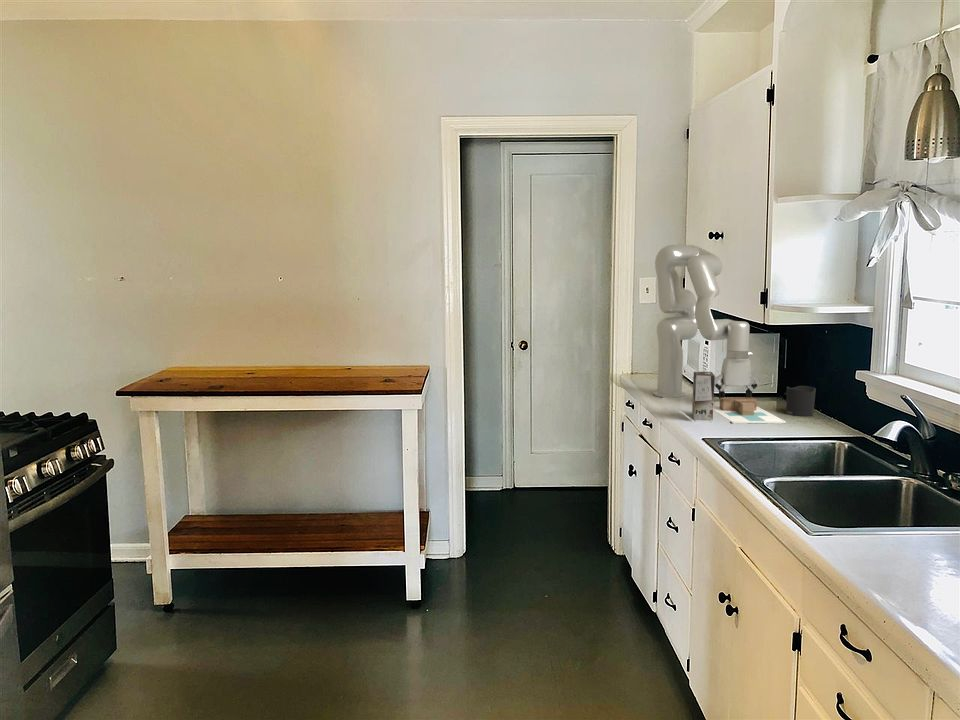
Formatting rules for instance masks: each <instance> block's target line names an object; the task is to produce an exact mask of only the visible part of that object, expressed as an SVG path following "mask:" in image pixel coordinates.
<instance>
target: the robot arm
mask: <svg viewBox="0 0 960 720" xmlns="http://www.w3.org/2000/svg"><path fill="white" fill-rule="evenodd" d="M654 265H655V266H654V267H655V271H656V272H655V273H656V278H657V279H656V280H657V291H658V292H657V294H658V295H657V296H658V305H659V309H660V311H661V312H662V313H664V314H677V316H669V317H665V318H663V319H661V320H660V321H659V322H658V324H657V326H656V335H657V342H658V362H657V363H658V364H657V388H656V389H657V390H654V391H653V392H652V393H653V395H654V396H655V397H658V398H664V397H665V398H682V397H685V396H686V394H687V393H686V392H685V391H683V367H684V366H683V365H684V350H683V346H682V343H681V341H686V340H692V339H693V338H694V337H695V336H696V335H697V333H698V331H699V333H700V335H701V336H702V338H704V340H708V341H721V340H726V353H725V354H726V355H725V356H726V357H723V361H722V366H721V370H720V374H719V375H717V376H715V382H714V388H717V390H718V400H719V401H720V398H726V392H725V389H726V388H727V387H745V388H746V390H745V398H751V397H753V392H754V390H755V389H756V388H757V387H758V385H759V383H760V382H761V379H760V378H759V377H756V376H755V375H752V366H751V360H750V359H749V357H750V356H752V355H753V352H752V351H749V345H750V324H749V323H748V322H747V321H743V320H742V321H740V320H739V321H738V320H733V319H729V318H723V319H714V317H713V314H712V312H711V304H712V301H713V299H714V298H716V297H717V296H718V295H719V294H720V292H721V290H720V287H719V284H718V282H717V278H716V277H718V276H719V275H721V273H722V270H723V262H722V260H721V259H720V257H718V256H717V255H716V254H714V253H713V252H710V251H708V250H706V249H703V248H701V246H697V245H694V244H669V245H666V246H664V247H662V248H660V250H659V251H658V252H657V254H656V256H655V261H654ZM679 267H686V269H687V272H688V275H689V278H690V280H691V283H692V286H693V289H694V292H695V294H696V296H695V294H694V293H693V292H692V291H691V290H689V289H685V288H683V289H682V288H681V282H680V276H679V274H678V272H677V270H676V269H675V268H679ZM696 297H697V298H696ZM752 380H753V381H754V382H753V383H752ZM719 382H720V384H719Z"/></svg>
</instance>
